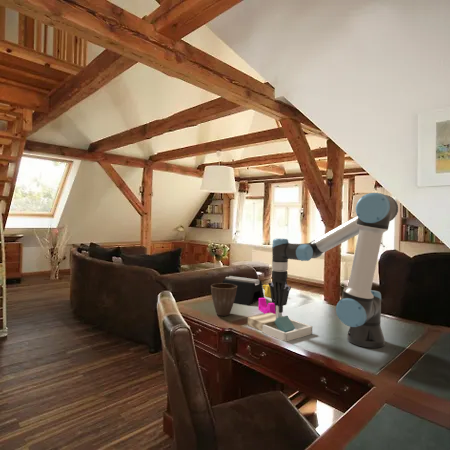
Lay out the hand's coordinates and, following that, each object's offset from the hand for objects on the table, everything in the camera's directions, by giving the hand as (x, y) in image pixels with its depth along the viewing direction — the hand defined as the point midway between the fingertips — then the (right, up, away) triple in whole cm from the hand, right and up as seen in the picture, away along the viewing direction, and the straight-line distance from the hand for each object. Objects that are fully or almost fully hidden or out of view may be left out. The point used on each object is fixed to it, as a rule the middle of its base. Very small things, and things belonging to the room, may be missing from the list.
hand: (278, 318), depth 158 cm
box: (+3, -6, -4) cm, 8 cm away
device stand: (-15, -5, +59) cm, 61 cm away
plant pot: (-27, -5, +26) cm, 38 cm away
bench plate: (-5, -5, +6) cm, 9 cm away
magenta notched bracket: (-1, -6, +29) cm, 29 cm away
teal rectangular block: (+2, -3, -2) cm, 4 cm away
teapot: (+7, -5, +67) cm, 68 cm away
